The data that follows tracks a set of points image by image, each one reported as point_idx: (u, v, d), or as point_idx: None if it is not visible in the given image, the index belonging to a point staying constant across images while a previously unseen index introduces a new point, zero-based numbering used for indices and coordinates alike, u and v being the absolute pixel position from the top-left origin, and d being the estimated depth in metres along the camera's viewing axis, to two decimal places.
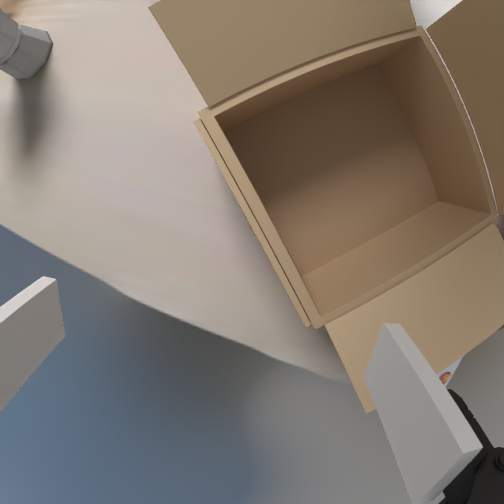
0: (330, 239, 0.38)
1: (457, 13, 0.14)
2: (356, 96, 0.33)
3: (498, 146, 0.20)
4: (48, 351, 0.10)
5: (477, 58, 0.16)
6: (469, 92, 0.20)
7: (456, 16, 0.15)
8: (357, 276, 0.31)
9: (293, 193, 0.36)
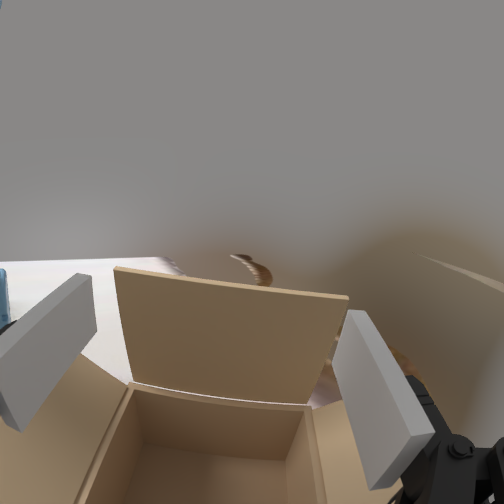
0: None
1: (130, 344, 0.30)
2: (154, 475, 0.30)
3: (243, 381, 0.32)
4: (82, 347, 0.11)
5: (167, 356, 0.30)
6: (193, 383, 0.32)
7: (132, 347, 0.30)
8: None
9: None
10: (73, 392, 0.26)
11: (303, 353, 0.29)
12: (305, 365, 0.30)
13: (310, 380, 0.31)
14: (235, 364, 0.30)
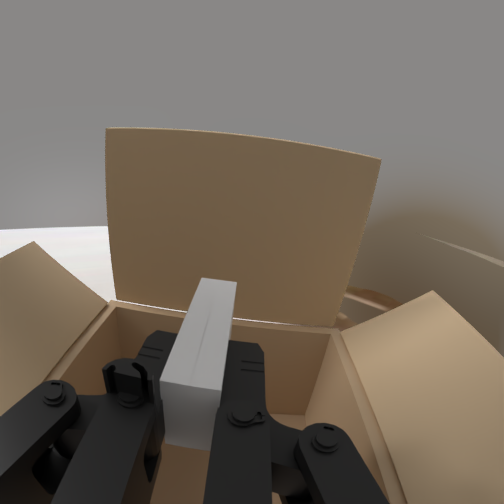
0: None
1: (115, 237, 0.25)
2: None
3: (255, 287, 0.26)
4: None
5: (159, 251, 0.25)
6: (190, 294, 0.27)
7: (117, 242, 0.25)
8: None
9: None
10: (36, 297, 0.20)
11: (330, 239, 0.24)
12: (333, 258, 0.25)
13: (338, 285, 0.26)
14: (245, 258, 0.25)
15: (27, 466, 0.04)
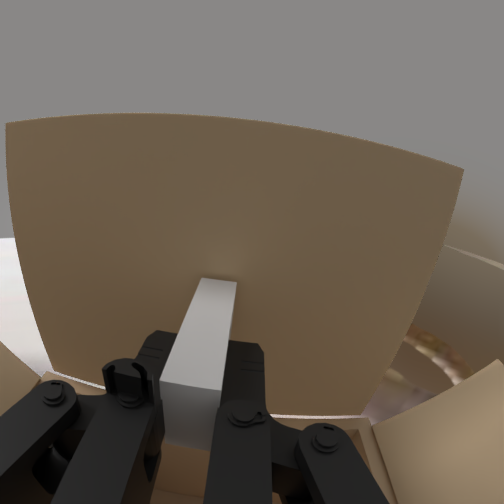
0: None
1: (34, 292, 0.14)
2: None
3: None
4: None
5: (94, 317, 0.14)
6: None
7: (37, 298, 0.14)
8: None
9: None
10: None
11: (373, 304, 0.14)
12: (374, 332, 0.14)
13: (376, 367, 0.15)
14: None
15: (27, 465, 0.04)
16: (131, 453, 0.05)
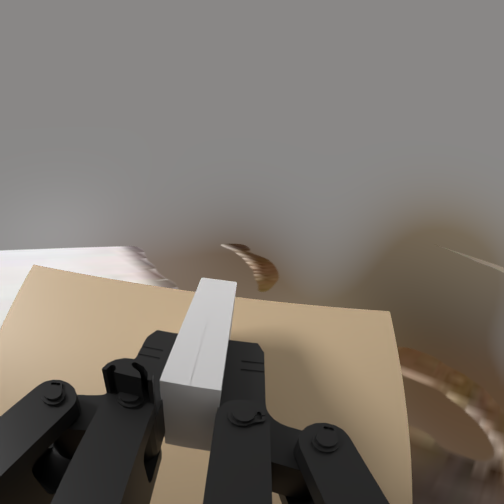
0: None
1: None
2: None
3: None
4: None
5: None
6: None
7: None
8: None
9: None
10: None
11: (360, 439, 0.11)
12: (374, 473, 0.10)
13: None
14: (199, 493, 0.09)
15: (28, 466, 0.04)
16: (131, 453, 0.05)
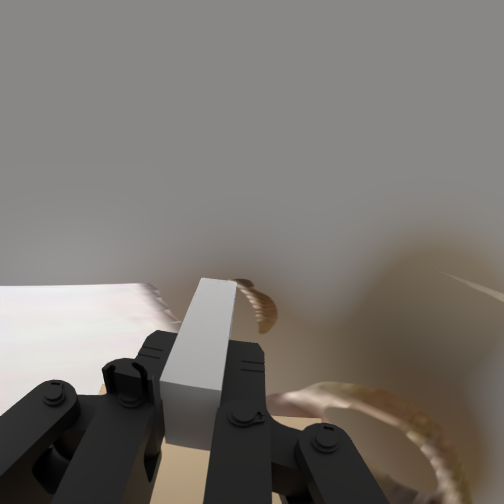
0: None
1: None
2: None
3: None
4: None
5: None
6: None
7: None
8: None
9: None
10: None
11: None
12: None
13: None
14: None
15: (28, 466, 0.04)
16: (131, 453, 0.05)
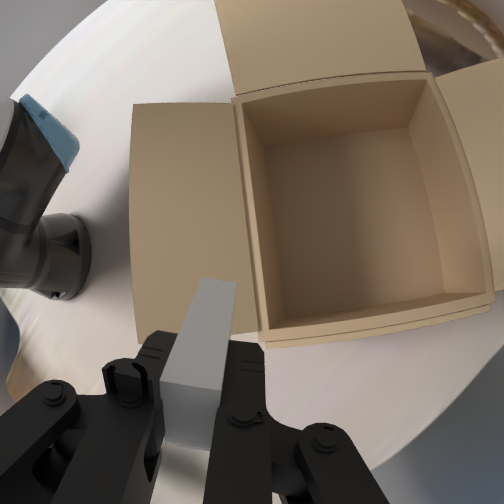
0: (420, 252, 0.33)
1: (229, 40, 0.27)
2: (291, 181, 0.38)
3: (349, 43, 0.25)
4: None
5: (267, 36, 0.27)
6: (302, 63, 0.27)
7: (231, 42, 0.27)
8: (461, 240, 0.26)
9: (367, 275, 0.35)
10: (186, 150, 0.27)
11: (381, 2, 0.23)
12: (391, 14, 0.23)
13: (408, 32, 0.23)
14: (332, 23, 0.25)
15: (28, 466, 0.04)
16: (131, 453, 0.05)
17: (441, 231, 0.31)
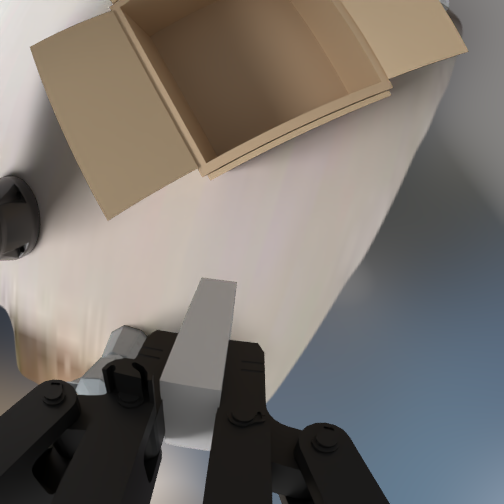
0: (316, 71, 0.36)
1: None
2: (182, 52, 0.35)
3: None
4: None
5: None
6: None
7: None
8: (346, 49, 0.28)
9: (275, 102, 0.37)
10: (87, 59, 0.23)
11: None
12: None
13: None
14: None
15: (28, 466, 0.04)
16: (131, 453, 0.05)
17: (328, 49, 0.33)
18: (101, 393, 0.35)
